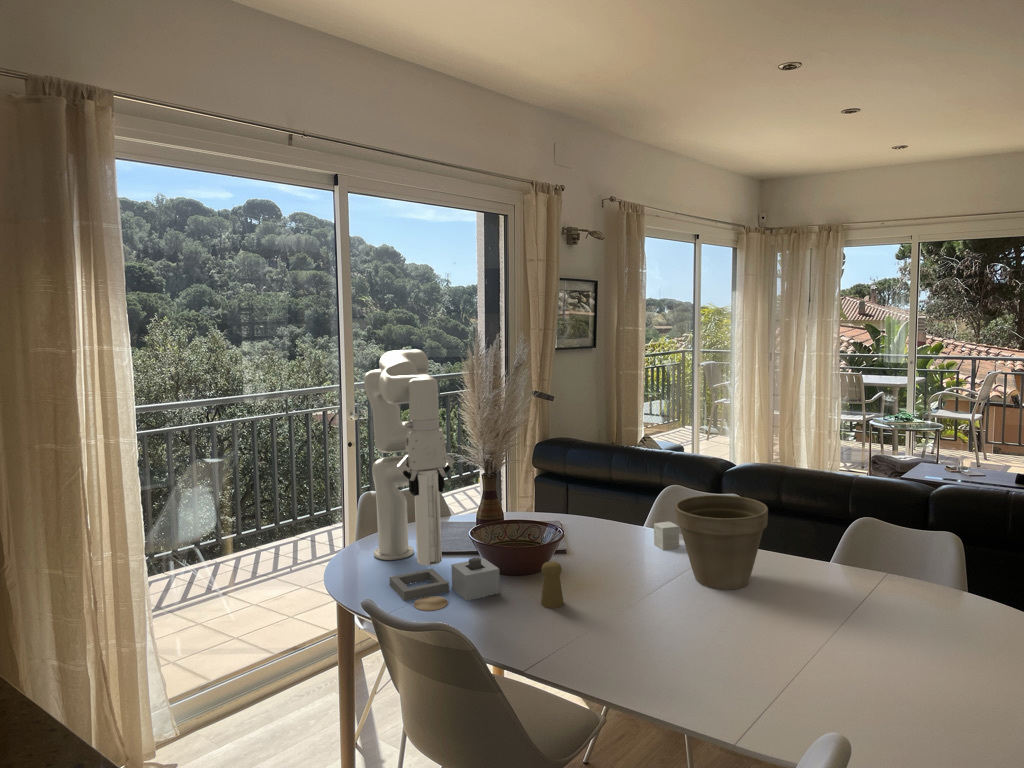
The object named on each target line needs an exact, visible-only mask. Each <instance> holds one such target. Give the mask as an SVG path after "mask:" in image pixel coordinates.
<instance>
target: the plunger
mask: <svg viewBox="0 0 1024 768" xmlns="http://www.w3.org/2000/svg"><path fill="white" fill-rule="evenodd" d="M481 559H482V558H479V557H471V558H469V559H468V561H469V569H470V570H476V569H481Z"/></svg>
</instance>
